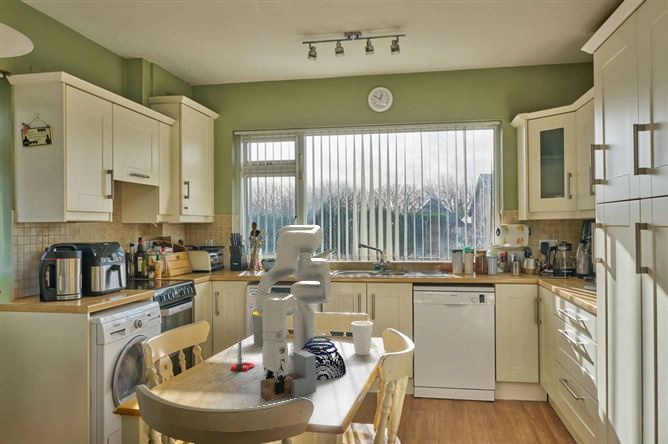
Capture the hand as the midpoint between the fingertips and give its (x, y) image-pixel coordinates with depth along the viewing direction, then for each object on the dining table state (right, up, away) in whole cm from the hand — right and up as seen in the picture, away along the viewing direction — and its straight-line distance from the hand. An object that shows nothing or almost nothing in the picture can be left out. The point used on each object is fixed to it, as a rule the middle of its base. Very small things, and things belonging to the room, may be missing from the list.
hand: (274, 390), depth 146 cm
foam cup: (+32, -3, +50) cm, 59 cm away
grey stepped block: (+7, -2, +5) cm, 9 cm away
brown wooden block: (+1, -2, +1) cm, 3 cm away
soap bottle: (-13, -3, +68) cm, 69 cm away
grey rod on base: (-17, -3, +31) cm, 36 cm away
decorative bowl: (+14, -3, +25) cm, 29 cm away
